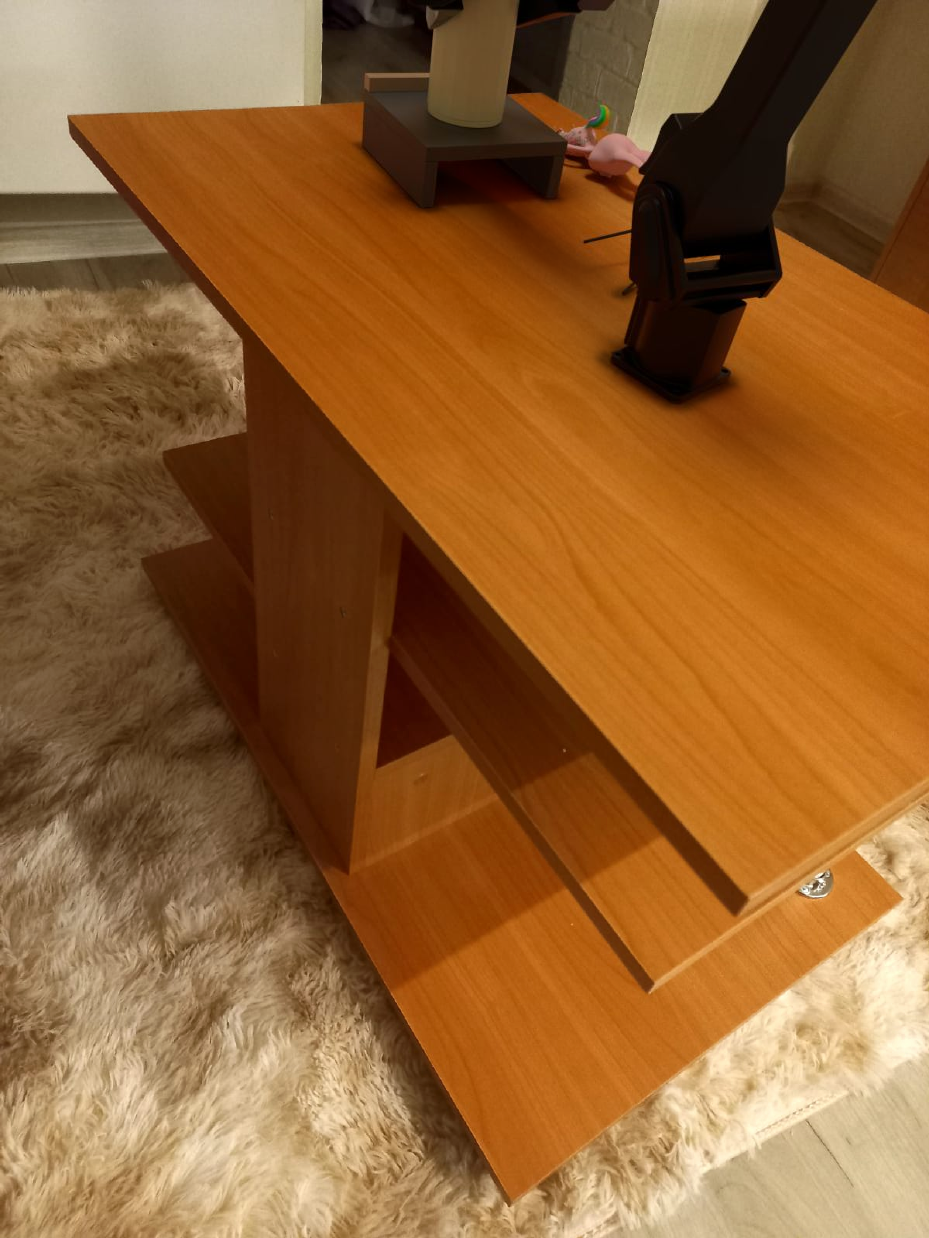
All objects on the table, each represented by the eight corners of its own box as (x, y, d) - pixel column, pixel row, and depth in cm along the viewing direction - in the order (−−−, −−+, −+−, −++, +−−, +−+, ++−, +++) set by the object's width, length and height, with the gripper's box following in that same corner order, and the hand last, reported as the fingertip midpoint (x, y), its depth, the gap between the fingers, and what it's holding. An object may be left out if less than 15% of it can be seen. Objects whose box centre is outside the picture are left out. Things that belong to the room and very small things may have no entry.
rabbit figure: (535, 161, 91) (626, 197, 81) (541, 95, 87) (637, 124, 77) (583, 157, 93) (677, 191, 84) (591, 93, 90) (690, 121, 80)
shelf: (557, 198, 82) (571, 126, 77) (421, 208, 76) (428, 131, 72) (489, 140, 89) (498, 72, 85) (361, 145, 84) (364, 73, 79)
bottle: (494, 133, 77) (521, -57, 67) (419, 118, 77) (435, -74, 67) (507, 110, 81) (533, -71, 71) (436, 95, 82) (453, -87, 72)
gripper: (643, -220, 63) (540, -69, 78) (409, -256, 56) (343, -82, 71) (672, -58, 65) (566, 61, 79) (447, -73, 57) (375, 61, 72)
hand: (467, 24), depth 75 cm, fingers closed on bottle, 7 cm apart
